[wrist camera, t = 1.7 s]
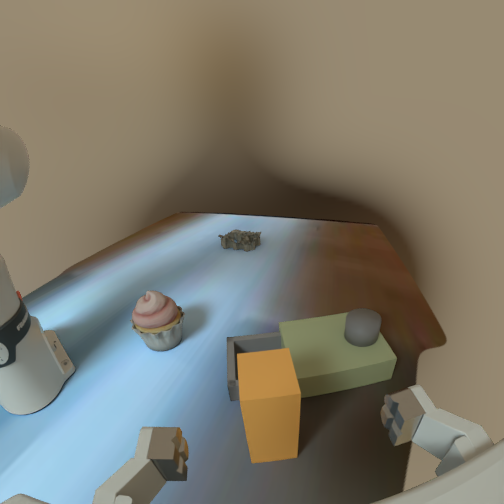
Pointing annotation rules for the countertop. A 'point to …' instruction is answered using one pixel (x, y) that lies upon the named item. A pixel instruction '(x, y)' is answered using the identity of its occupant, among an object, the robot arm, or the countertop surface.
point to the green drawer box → (323, 352)
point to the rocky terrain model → (240, 240)
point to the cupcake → (158, 321)
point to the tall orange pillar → (269, 404)
